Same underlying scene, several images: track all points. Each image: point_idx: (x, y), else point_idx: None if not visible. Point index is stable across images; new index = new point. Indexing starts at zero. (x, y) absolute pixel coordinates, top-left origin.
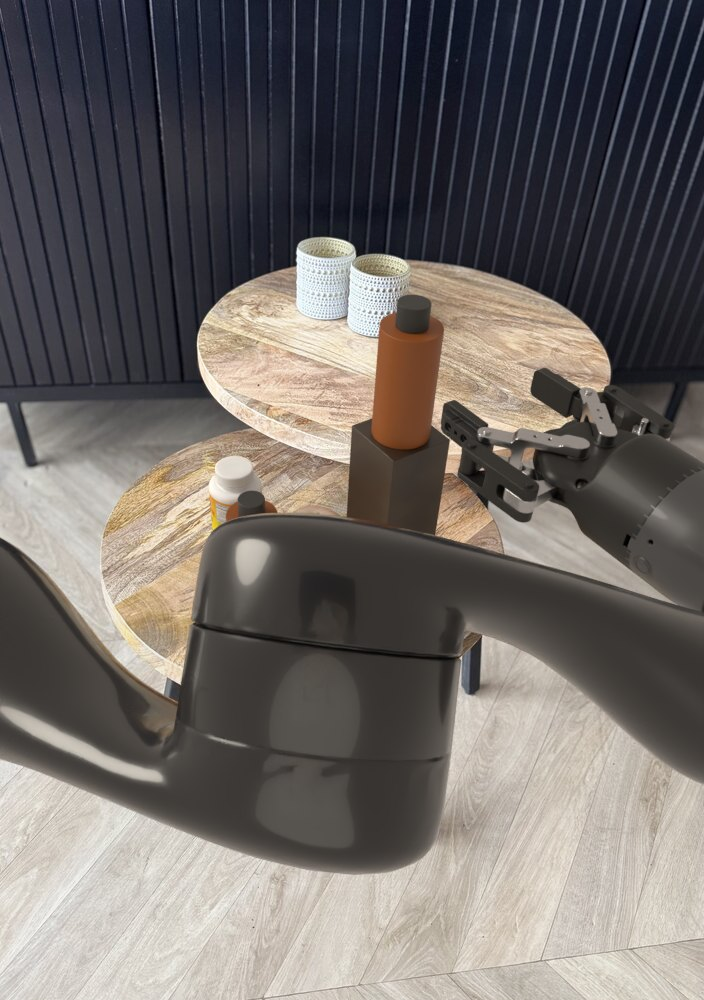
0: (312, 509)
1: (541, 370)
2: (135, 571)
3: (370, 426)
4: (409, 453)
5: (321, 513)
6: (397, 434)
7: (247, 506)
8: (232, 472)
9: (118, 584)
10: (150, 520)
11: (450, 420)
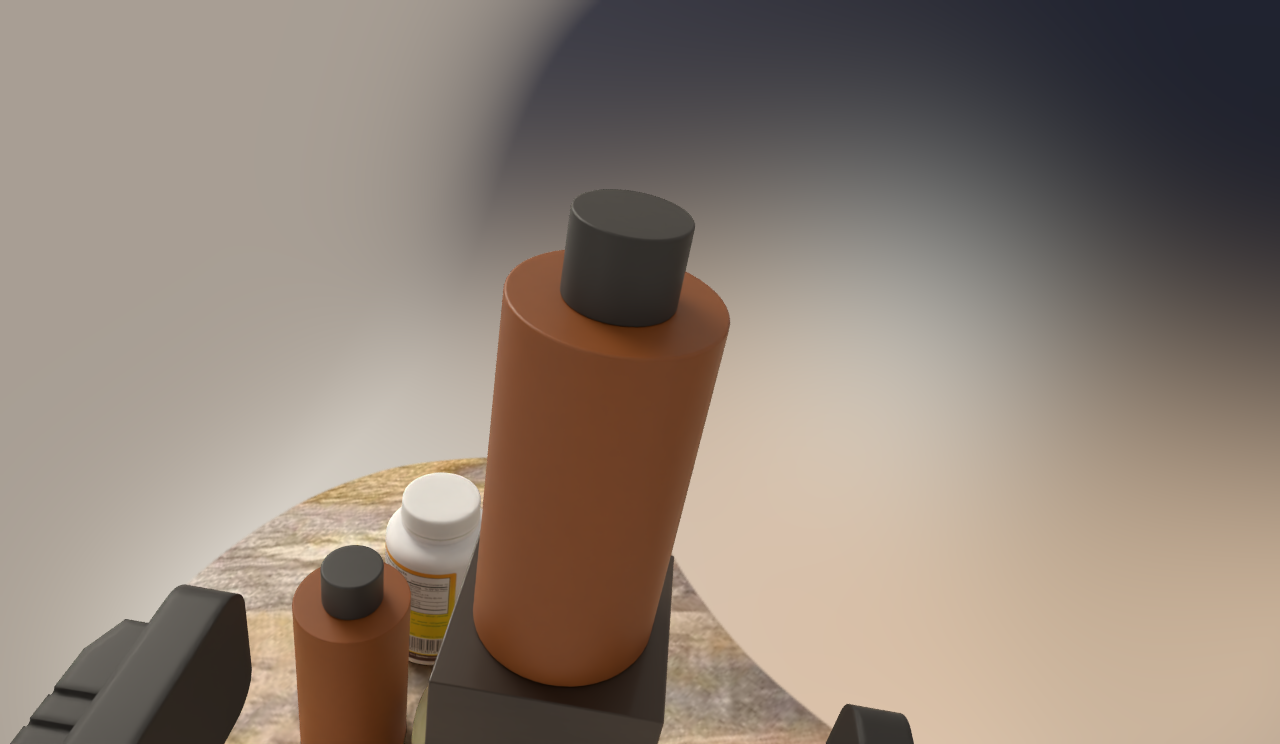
0: None
1: (868, 724)
2: (246, 579)
3: None
4: (500, 686)
5: None
6: (489, 610)
7: (326, 575)
8: (426, 503)
9: (201, 583)
10: (364, 517)
11: (57, 688)
